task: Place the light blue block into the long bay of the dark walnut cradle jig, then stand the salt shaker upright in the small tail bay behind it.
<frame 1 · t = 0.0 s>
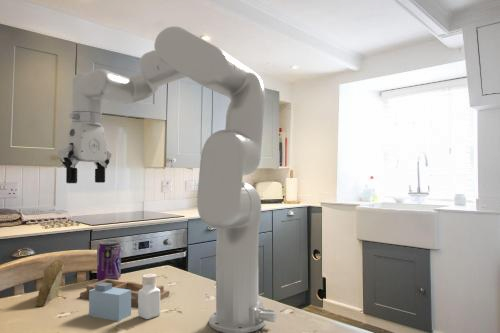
hand: (86, 182, 99), 31 cm above the table, tool pointing down, fingers open, 9 cm apart
jig: (125, 296, 99), on the table
rock: (45, 300, 97), on the table
beverage can: (108, 280, 115), on the table
light blue block: (110, 315, 86), on the table
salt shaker: (149, 316, 85), on the table
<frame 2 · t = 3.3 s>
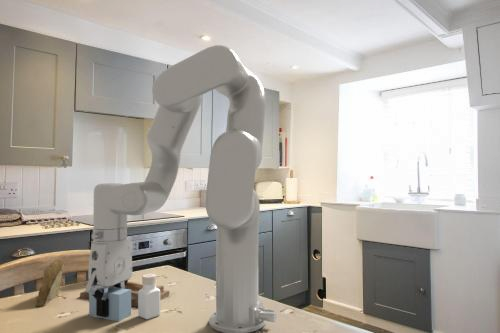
hand: (109, 311, 86), 1 cm above the table, tool pointing down, fingers closed on light blue block, 4 cm apart
light blue block: (110, 315, 86), on the table, touching gripper
everything else where it was.
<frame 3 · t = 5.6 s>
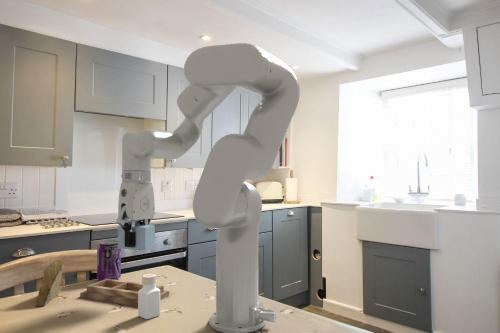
hand: (135, 244, 98), 14 cm above the table, tool pointing down, fingers closed on light blue block, 4 cm apart
light blue block: (136, 247, 98), point 13 cm above the table, touching gripper
everything else where it was.
when the fingers open (4 cm above the table, at t = 7.7 s): light blue block drops 2 cm, resting on jig.
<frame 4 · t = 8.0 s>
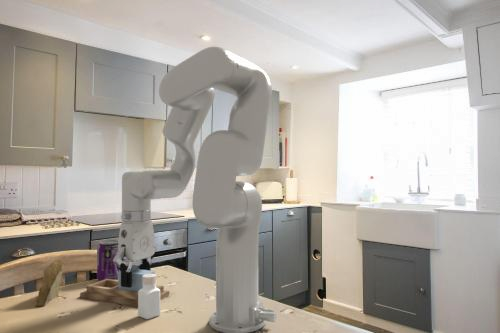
hand: (136, 282, 98), 4 cm above the table, tool pointing down, fingers open, 7 cm apart
light blue block: (136, 293, 98), point 1 cm above the table, touching jig
everything else where it was.
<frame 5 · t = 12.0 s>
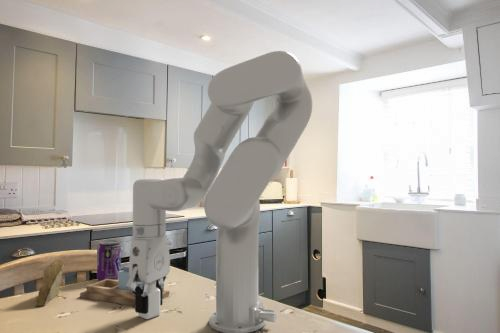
hand: (149, 307, 85), 2 cm above the table, tool pointing down, fingers closed on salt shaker, 4 cm apart
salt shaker: (149, 316, 85), on the table, touching gripper
everything else where it was.
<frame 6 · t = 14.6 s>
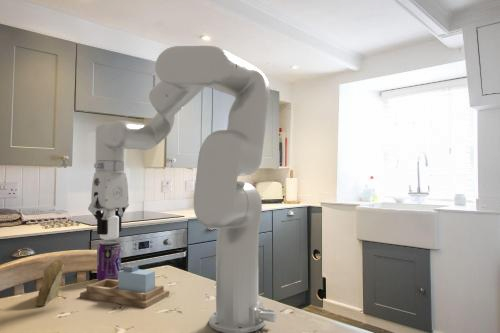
hand: (109, 232, 102), 17 cm above the table, tool pointing down, fingers closed on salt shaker, 4 cm apart
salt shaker: (109, 239, 102), point 15 cm above the table, touching gripper
everything else where it was.
when the fingers open (4 cm above the table, at t = 17.3 s): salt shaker drops 1 cm, resting on jig.
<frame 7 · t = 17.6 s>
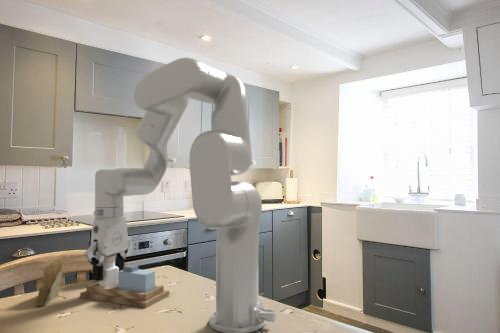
hand: (109, 275, 101), 5 cm above the table, tool pointing down, fingers open, 7 cm apart
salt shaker: (109, 290, 101), point 1 cm above the table, touching jig
everything else where it was.
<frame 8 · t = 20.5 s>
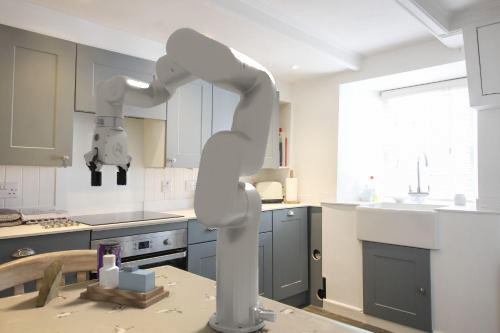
hand: (109, 185, 102), 30 cm above the table, tool pointing down, fingers open, 9 cm apart
nothing on the table moved.
at the end: light blue block inside the target area (0.2 cm from its centre), point 1.2 cm above the table; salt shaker 0.4 cm from the target spot, point 1.0 cm above the table; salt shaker tilted 0° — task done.
